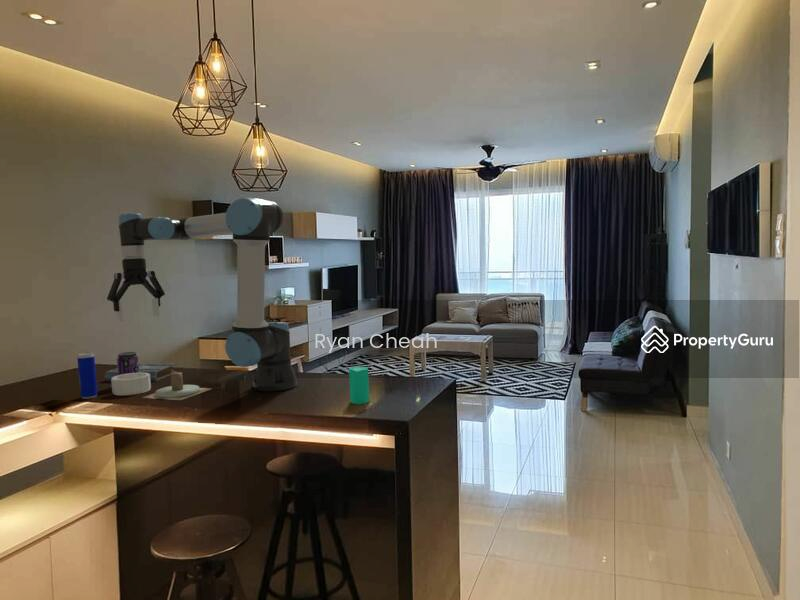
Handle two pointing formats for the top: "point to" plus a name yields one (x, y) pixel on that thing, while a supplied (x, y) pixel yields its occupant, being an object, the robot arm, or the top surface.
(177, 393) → the lid
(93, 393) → the beverage can
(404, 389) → the top surface
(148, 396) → the trivet
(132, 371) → the beverage can
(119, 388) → the bowl
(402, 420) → the top surface
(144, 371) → the book
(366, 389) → the candle
